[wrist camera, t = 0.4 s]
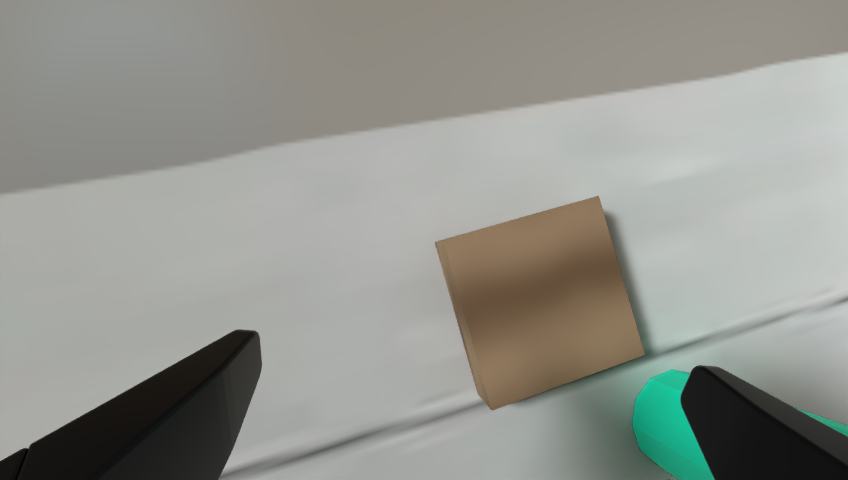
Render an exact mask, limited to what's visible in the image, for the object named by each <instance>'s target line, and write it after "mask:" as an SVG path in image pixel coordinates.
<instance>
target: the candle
mask: <svg viewBox="0 0 848 480" xmlns="http://www.w3.org/2000/svg"><path fill="white" fill-rule="evenodd" d="M689 376H690V373H688V372H682V371H677V370H670V371H667V372H665V373H663V374H660V375H658V376H656V377H653V378H651V379H650V380H649V381H648V383H647V384H646V386H645V387H644V388H643V390H642V391H641V393H640V394H639V395H638V397H637V398H636V401H635V408H634V415H633V421H632V427H633V430H634V433H635V436H636V439H637V442H638V445H639V448H640V450H641V451H642V452H643V453H644V454H646V455H647V456H648V457H649V458H650V459H651V460H652V461H653V462H655V463H656V464H657V465H658V466H659V467H661V468H662V469H664V470H665V471H666V472H668V473H669V474H671V475H672V476H674V477H675V478H677V479H678V480H715V479H714V477H713V475H712V473H711V471H710V469H709V467H708V464H707V462H706V460H705V458H704V456H703V453H702V451H701V449H700V447H699V444H698V442H697V440H696V438H695V436H694V433H693V431H692V429H691V427H690V425H689V422H688V420H687V418H686V416H685V413H684V411H683V409H682V406H681V401H680V397H681V393H682V391H683V389H684V386H685V384H686V382H687V380H688V378H689ZM796 409H797V408H796ZM797 410H799V411H801V412H803V413H805V414H807V415H809V416H810V417H812V418H814V419H816V420H818V421H820V422H822V423H823V424H825V425H827V426H829V427H831V428H833V429H835V430H836V431H838V432H840V433H842V434H844V435H846V436H848V426H847V425H844V424H841V423H838V422H835V421H832V420H830V419H827V418H824V417H821V416H818V415H815V414H812V413H809V412H806V411H803V410H800V409H797Z"/></svg>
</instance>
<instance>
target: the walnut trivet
mask: <svg viewBox="0 0 848 480" xmlns="http://www.w3.org/2000/svg"><path fill="white" fill-rule="evenodd" d="M435 244H436V248H437V251H438V255H439V258H440V262H441V265H442V269H443V272H444V276H445V280H446V283H447V287H448V290H449V294H450V297H451V301H452V304H453V308H454V311H455V315H456V318H457V322H458V325H459V329H460V332H461V336H462V339H463V343H464V346H465V350H466V353H467V357H468V361H469V364H470V368H471V371H472V375H473V378H474V382H475V385H476V389H477V392H478V395H479V396H480V397H481V398H482V399H483V401H484V402H485V403H486V404H487V405H488V406H489V408H490V409H491V410H495V409H497V408H500V407H503V406H506V405H508V404H511V403H514V402H517V401H519V400H522V399H525V398H528V397H530V396H533V395H536V394H539V393H541V392H544V391H547V390H550V389H552V388H555V387H558V386H561V385H563V384H566V383H569V382H572V381H574V380H577V379H580V378H583V377H585V376H588V375H591V374H594V373H596V372H599V371H602V370H605V369H607V368H610V367H613V366H616V365H618V364H621V363H624V362H627V361H629V360H632V359H635V358H638V357H640V356H643V355H645V353H644V350H643V346H642V343H641V339H640V336H639V333H638V329H637V326H636V322H635V319H634V315H633V312H632V309H631V305H630V302H629V298H628V295H627V291H626V288H625V284H624V281H623V278H622V274H621V271H620V267H619V264H618V260H617V257H616V254H615V250H614V247H613V243H612V240H611V236H610V233H609V229H608V226H607V223H606V219H605V216H604V212H603V209H602V205H601V202H600V199H599V196H596V197H593V198H589V199H586V200H582V201H579V202H575V203H572V204H568V205H564V206H561V207H557V208H554V209H550V210H547V211H543V212H540V213H536V214H533V215H529V216H526V217H522V218H519V219H515V220H512V221H508V222H504V223H501V224H497V225H494V226H490V227H487V228H483V229H480V230H476V231H473V232H469V233H466V234H462V235H459V236H455V237H452V238H448V239H444V240H441V241H438V242H435Z"/></svg>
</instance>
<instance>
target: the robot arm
mask: <svg viewBox="0 0 848 480" xmlns="http://www.w3.org/2000/svg"><path fill="white" fill-rule="evenodd" d="M261 368H262V360H261V348H260V337H259V334H258V333H257V332H256V331H253V330H235V331H233V332H231V333H229V334H227V335H225V336H224V337H222V338H220V339H218V340H216V341H215V342H213V343H211V344H209V345H208V346H206V347H204V348H202V349H200V350H199V351H197V352H195V353H193V354H191V355H190V356H188V357H186V358H184V359H182V360H181V361H179V362H177V363H175V364H174V365H172V366H170V367H168V368H166V369H165V370H163V371H161V372H159V373H157V374H156V375H154V376H152V377H150V378H148V379H147V380H145V381H143V382H141V383H140V384H138V385H136V386H134V387H132V388H131V389H129V390H127V391H125V392H123V393H122V394H120V395H118V396H116V397H114V398H113V399H111V400H109V401H107V402H106V403H104V404H102V405H100V406H98V407H97V408H95V409H93V410H91V411H89V412H88V413H86V414H84V415H82V416H80V417H79V418H77V419H75V420H73V421H71V422H70V423H68V424H66V425H64V426H63V427H61V428H59V429H57V430H55V431H54V432H52V433H50V434H48V435H46V436H45V437H43V438H41V439H39V440H37V441H36V442H34V443H32V444H31V445H30V446H29V449H27V448H23V449H21V450H19V451H18V452H16V453H14V454H12V455H10V456H9V457H7V458H5V459H3V460H1V461H0V480H218V479H219V477H220V475H221V473H222V471H223V469H224V467H225V465H226V463H227V460H228V458H229V456H230V454H231V452H232V450H233V447H234V445H235V442H236V439H237V437H238V434H239V432H240V429H241V426H242V423H243V421H244V418H245V415H246V412H247V410H248V407H249V404H250V401H251V399H252V396H253V393H254V390H255V388H256V385H257V382H258V380H259V377H260V373H261ZM680 401H681V406H682V409H683V411H684V413H685V416H686V418H687V420H688V422H689V425H690V427H691V429H692V431H693V433H694V436H695V438H696V440H697V442H698V444H699V447H700V449H701V451H702V453H703V456H704V458H705V460H706V462H707V464H708V467H709V469H710V471H711V473H712V475H713V477H714V479H715V480H848V436H846V435H844V434H842V433H840V432H838V431H836V430H835V429H833V428H831V427H829V426H827V425H825V424H823V423H822V422H820V421H818V420H816V419H814V418H812V417H810V416H809V415H807V414H805V413H803V412H801V411H799V410H797V409H796V408H794V407H792V406H790V405H788V404H786V403H784V402H783V401H781V400H779V399H777V398H775V397H773V396H772V395H770V394H768V393H766V392H764V391H762V390H760V389H759V388H757V387H755V386H753V385H751V384H749V383H747V382H746V381H744V380H742V379H740V378H738V377H736V376H734V375H733V374H731V373H729V372H727V371H725V370H723V369H721V368H719V367H715V366H703V365H699V366H696V367H695V368H693V370H692V371H691V373H690V376H689V378H688V380H687V382H686V384H685V386H684V389H683V391H682V393H681V397H680Z"/></svg>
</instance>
